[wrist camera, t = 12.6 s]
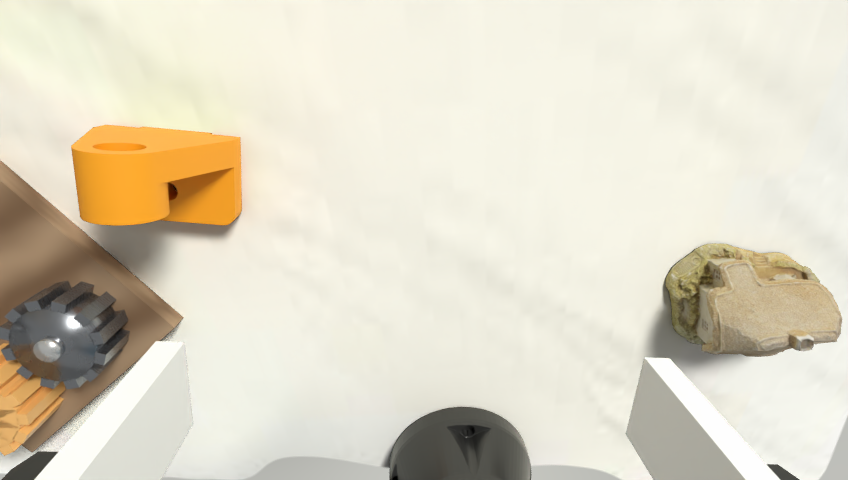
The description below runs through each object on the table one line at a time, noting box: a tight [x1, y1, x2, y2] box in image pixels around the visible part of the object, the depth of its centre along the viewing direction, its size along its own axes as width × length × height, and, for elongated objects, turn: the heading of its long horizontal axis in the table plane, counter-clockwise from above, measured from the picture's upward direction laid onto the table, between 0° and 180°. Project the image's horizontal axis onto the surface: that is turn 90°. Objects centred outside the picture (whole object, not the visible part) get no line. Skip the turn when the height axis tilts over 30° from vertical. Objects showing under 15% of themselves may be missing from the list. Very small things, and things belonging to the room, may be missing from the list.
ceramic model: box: [665, 244, 842, 357], centre depth 45 cm, size 14×11×10 cm
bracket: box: [71, 125, 242, 225], centre depth 38 cm, size 11×7×12 cm, turn 84°
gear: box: [0, 281, 130, 390], centre depth 43 cm, size 8×8×5 cm
